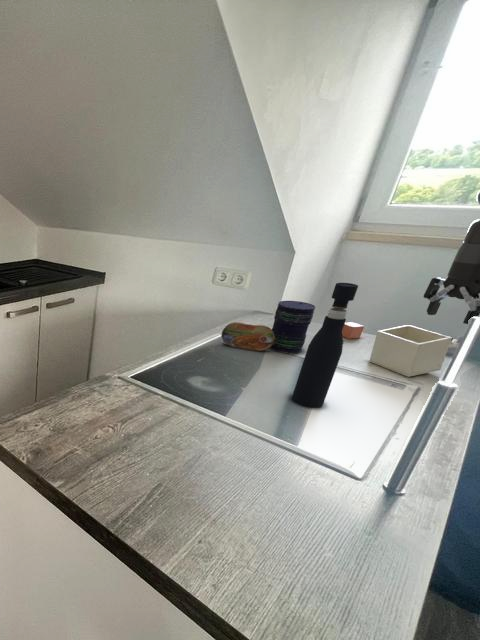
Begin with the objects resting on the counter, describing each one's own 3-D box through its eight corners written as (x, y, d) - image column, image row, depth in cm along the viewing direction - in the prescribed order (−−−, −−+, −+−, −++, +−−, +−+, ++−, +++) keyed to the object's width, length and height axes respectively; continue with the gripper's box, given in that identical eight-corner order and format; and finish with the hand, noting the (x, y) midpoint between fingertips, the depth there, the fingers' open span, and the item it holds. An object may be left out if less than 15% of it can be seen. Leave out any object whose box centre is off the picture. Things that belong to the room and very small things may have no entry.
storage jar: (291, 356, 124) (305, 311, 118) (260, 346, 132) (271, 303, 126) (308, 349, 128) (322, 305, 122) (276, 340, 136) (288, 299, 130)
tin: (219, 344, 134) (224, 321, 131) (220, 341, 136) (225, 318, 133) (270, 353, 126) (277, 329, 123) (271, 350, 128) (278, 326, 125)
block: (348, 333, 140) (352, 322, 138) (359, 337, 136) (364, 326, 134) (337, 334, 140) (341, 322, 138) (348, 338, 136) (353, 326, 134)
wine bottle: (285, 398, 100) (322, 283, 88) (301, 393, 102) (339, 280, 90) (312, 410, 95) (355, 289, 82) (328, 404, 97) (372, 285, 85)
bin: (408, 376, 109) (419, 344, 104) (369, 361, 119) (377, 331, 114) (454, 367, 110) (467, 334, 105) (411, 352, 120) (421, 321, 115)
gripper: (523, 264, 97) (492, 325, 103) (454, 255, 110) (430, 311, 116) (498, 266, 96) (468, 328, 102) (431, 257, 109) (409, 312, 115)
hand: (448, 318), depth 109 cm, fingers open, 8 cm apart
